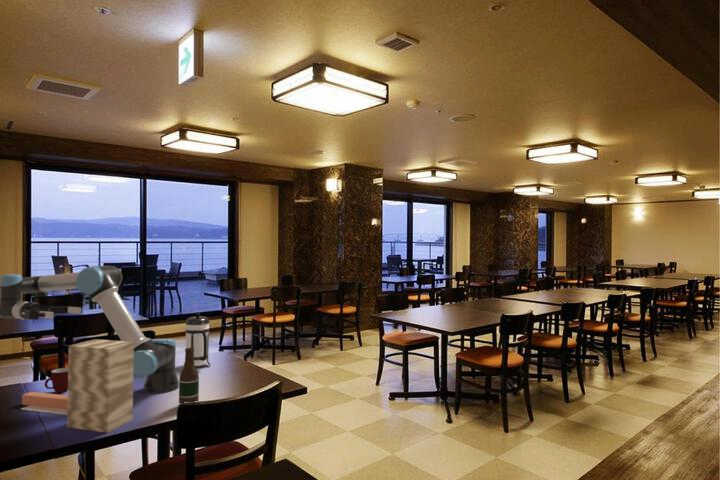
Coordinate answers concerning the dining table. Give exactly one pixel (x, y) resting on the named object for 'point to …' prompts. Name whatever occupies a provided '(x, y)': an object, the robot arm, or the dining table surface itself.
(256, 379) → the dining table surface
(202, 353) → the coffee press
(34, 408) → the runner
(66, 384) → the mug
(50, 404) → the pink long bar
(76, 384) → the stand
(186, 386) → the beer bottle
